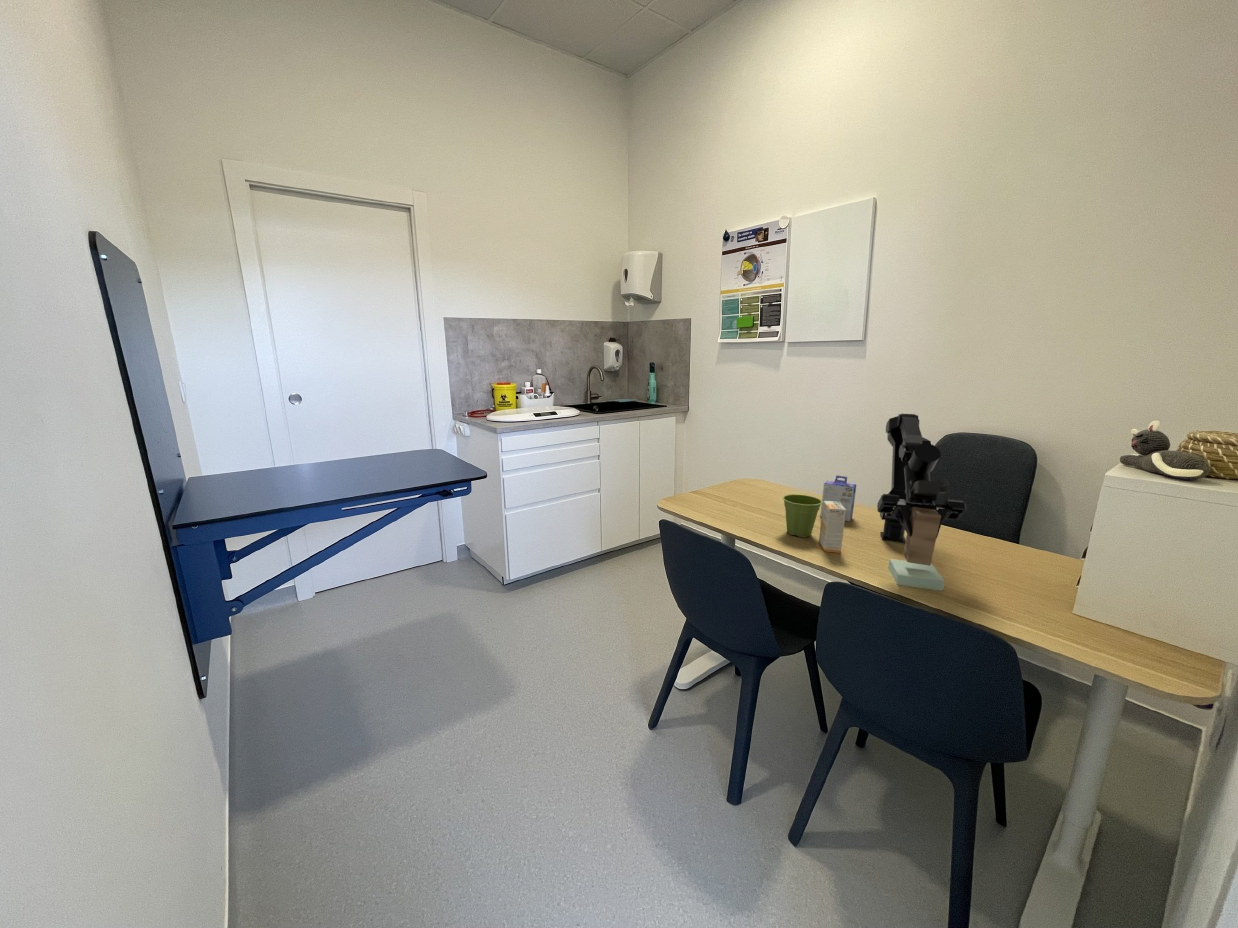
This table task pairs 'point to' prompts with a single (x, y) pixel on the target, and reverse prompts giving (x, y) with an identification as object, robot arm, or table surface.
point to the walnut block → (922, 536)
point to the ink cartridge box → (840, 494)
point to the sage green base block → (916, 575)
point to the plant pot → (801, 513)
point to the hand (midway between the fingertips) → (923, 537)
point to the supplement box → (832, 526)
